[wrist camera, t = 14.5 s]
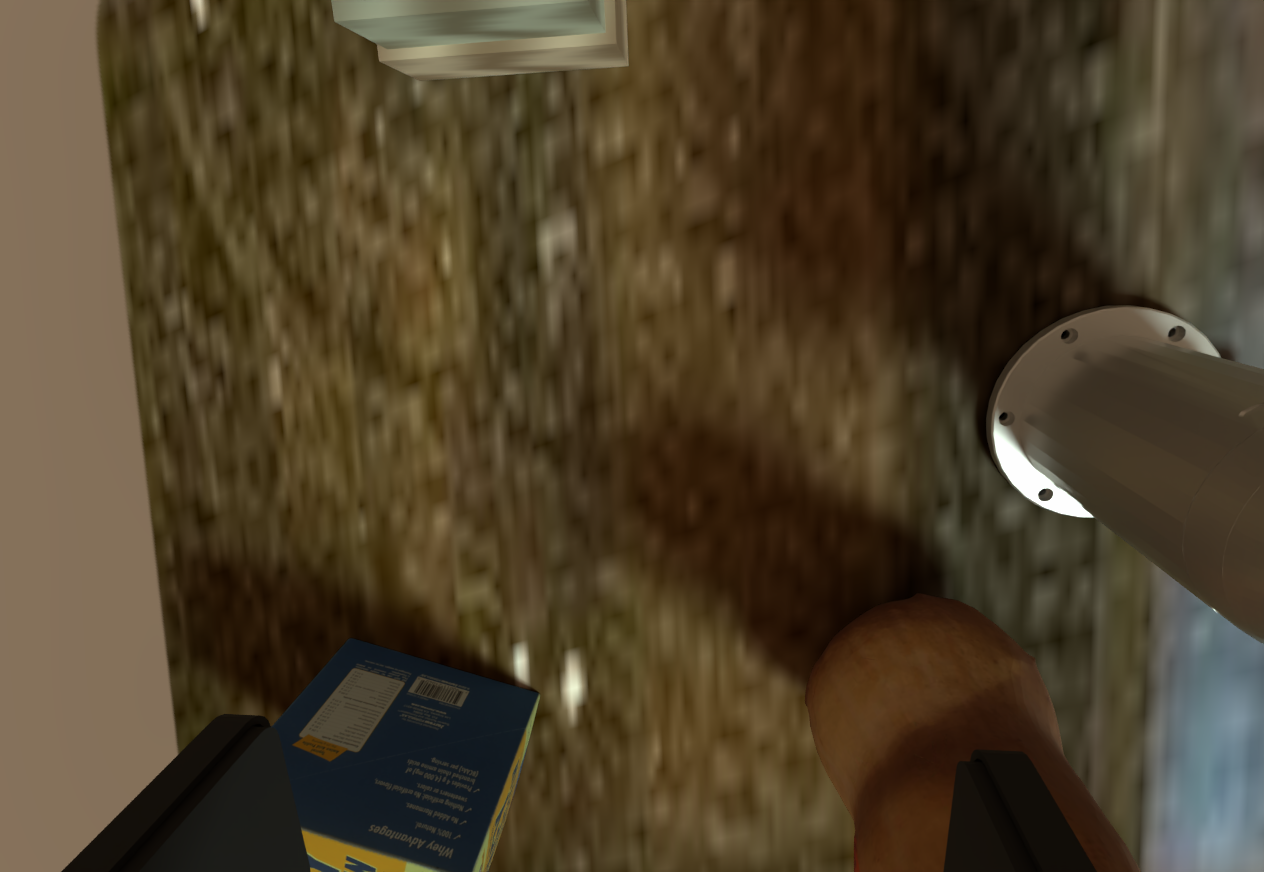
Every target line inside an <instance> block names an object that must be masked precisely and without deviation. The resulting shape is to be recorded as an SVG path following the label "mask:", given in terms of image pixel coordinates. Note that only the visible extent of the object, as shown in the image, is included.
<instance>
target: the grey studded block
mask: <svg viewBox="0 0 1264 872" xmlns="http://www.w3.org/2000/svg"><path fill="white" fill-rule="evenodd" d="M331 1H332V8H333V15H334V21H335V22H336V23H338V24H340V25H342V26H344V27H346V28H348V29H350V30H351V31H353V32H355V33H357V34H359V35H361V36H363V37H365V38H367V39H369V40H370V41H372V42H374V43H376V44H377V48H378V55H379V61H380V62H382V63H384V64H386V65H388V66H390V67H392V68H394V69H396V70H398V71H401V72H403V73H405V74H407V75H409V76H411V77H413V78H415V79H417V80H419V81H424V80H438V79H452V78H467V77H481V76H495V75H509V74H523V73H538V72H552V71H566V70H580V69H594V68H609V67H623V66H629V63H628V37H627V10H626V0H331Z"/></svg>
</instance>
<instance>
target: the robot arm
mask: <svg viewBox="0 0 1264 872" xmlns="http://www.w3.org/2000/svg"><path fill="white" fill-rule="evenodd" d="M1170 329H1171V331H1170ZM1063 331H1066V334H1065V336H1064V337H1062V338H1061V335H1062V333H1063ZM1169 331H1170V333H1169ZM1168 333H1169V334H1168ZM1003 412H1005V415H1004V417H1002V418H999V417H1000V415H1001V414H1002V413H1003ZM986 433H987V441H988V445H989V449H990V453H991V456H992V458H993V460H994V462H995V464H996V466H997V468H998V470H999V472H1000V473H1001V474H1002V475H1003V477H1004V478H1005V479H1006V480H1007V481H1008V482H1009V484H1010V485H1011V486H1012V487H1013V488H1015V489H1016V490H1017V491H1018V492H1019V493H1020V494H1021V495H1023V496H1024V497H1025V498H1027V499H1028V500H1030V501H1031V502H1033V503H1034V504H1036V505H1038V506H1039V507H1042V508H1044V509H1047V510H1050V511H1052V512H1055V513H1058V514H1062V515H1068V516H1073V517H1079V518H1096V519H1097V520H1099V521H1100V522H1101V523H1102V524H1104V525H1105V526H1106V527H1108V528H1109V529H1110V530H1111V531H1113V532H1114V533H1115V534H1117V535H1118V536H1119V537H1120V538H1122V539H1123V540H1124V541H1126V542H1127V543H1128V544H1129V545H1131V546H1132V547H1133V548H1135V549H1136V550H1137V551H1139V552H1140V553H1141V554H1142V555H1144V556H1145V557H1146V558H1148V559H1149V560H1150V561H1151V562H1153V563H1154V564H1155V565H1157V566H1158V567H1159V568H1160V569H1162V570H1163V571H1164V572H1166V573H1167V574H1168V575H1169V576H1171V577H1172V578H1173V579H1175V580H1176V581H1177V582H1178V583H1180V584H1181V585H1182V586H1184V587H1185V588H1186V589H1187V590H1189V591H1190V592H1191V593H1193V594H1194V595H1195V596H1196V597H1198V598H1199V599H1200V600H1202V601H1203V602H1204V603H1206V604H1207V605H1208V606H1209V607H1211V608H1212V609H1213V610H1215V611H1216V612H1218V613H1219V614H1220V615H1222V616H1223V617H1224V618H1226V619H1227V620H1228V621H1230V622H1231V623H1232V624H1234V625H1235V626H1236V627H1237V628H1239V629H1240V630H1242V631H1243V632H1245V633H1246V634H1248V635H1249V636H1251V637H1253V638H1254V639H1256V640H1257V641H1259V642H1261V643H1263V644H1264V369H1260V368H1257V367H1253V366H1249V365H1245V364H1242V363H1238V362H1234V361H1231V360H1227V359H1223V358H1221V356H1220V354H1219V352H1218V351H1217V349H1216V348H1215V347H1214V345H1213V344H1212V343H1211V341H1210V340H1209V339H1208V337H1207V336H1206V335H1204V334H1203V333H1202V332H1201V331H1199V330H1198V329H1197V328H1196V327H1195V326H1193V325H1192V324H1191V323H1189V322H1187V321H1185V320H1183V319H1181V318H1179V317H1177V316H1175V315H1173V314H1170V313H1167V312H1163V311H1159V310H1155V309H1151V308H1146V307H1139V306H1132V305H1115V306H1103V307H1098V308H1093V309H1088V310H1083V311H1081V312H1078V313H1075V314H1073V315H1070V316H1067V317H1065V318H1062V319H1060V320H1058V321H1057V322H1055V323H1053V324H1051V325H1050V326H1048V327H1046V328H1045V329H1043V330H1041V331H1040V332H1039V333H1037V334H1036V335H1035V336H1034V337H1032V338H1031V339H1030V340H1029V341H1028V342H1026V343H1025V344H1024V345H1023V346H1022V347H1021V348H1020V349H1019V350H1018V351H1017V353H1016V354H1015V355H1014V356H1013V357H1012V358H1011V359H1010V360H1009V362H1008V363H1007V365H1006V366H1005V368H1004V370H1003V371H1002V373H1001V374H1000V376H999V378H998V379H997V381H996V384H995V386H994V389H993V392H992V394H991V397H990V399H989V405H988V410H987V416H986ZM1040 490H1042V491H1041V492H1039V491H1040ZM62 872H311V871H310V864H309V860H308V855H307V851H306V847H305V843H304V839H303V834H302V830H301V826H300V822H299V817H298V813H297V809H296V805H295V800H294V796H293V792H292V788H291V784H290V779H289V775H288V771H287V767H286V762H285V758H284V754H283V750H282V745H281V741H280V737H279V734H278V731H277V730H276V729H275V728H273V727H271V726H270V724H269V721H268V720H267V719H266V718H265V717H263V716H255V715H233V714H224V715H221V716H218V717H217V718H215V719H214V720H213V721H212V722H211V723H210V724H209V725H208V726H207V727H206V728H205V729H204V730H203V731H202V732H201V733H200V734H199V735H198V736H197V737H196V738H195V739H194V740H193V741H192V742H191V743H190V744H189V745H188V746H187V747H186V748H185V749H184V750H183V751H182V752H181V753H180V754H179V755H178V756H177V757H176V758H175V759H174V760H173V761H172V762H171V763H170V764H169V765H168V766H167V767H166V768H165V769H164V770H163V771H162V772H161V773H160V774H159V775H158V776H157V777H156V778H155V779H154V780H153V781H152V782H151V783H150V784H149V785H148V786H147V787H146V788H145V789H144V790H143V791H142V792H141V793H140V794H139V795H138V796H137V797H136V798H135V799H134V800H133V801H132V802H131V803H130V804H129V805H128V806H127V807H126V808H125V809H124V810H123V811H122V812H121V813H120V814H119V815H118V816H117V817H116V818H115V819H114V820H113V821H112V822H111V823H110V824H109V825H108V826H107V827H106V828H105V829H104V830H103V831H102V832H101V833H100V834H99V835H98V836H97V837H96V838H95V839H94V840H93V841H92V842H91V843H90V844H89V845H88V846H87V847H86V848H85V849H84V850H83V851H82V852H81V853H80V854H79V855H78V856H77V857H76V858H75V859H74V860H73V861H72V862H71V863H70V864H69V865H68V866H67V867H66V868H65V869H64V870H63V871H62ZM943 872H1097V871H1096V869H1095V868H1094V866H1093V864H1092V863H1091V861H1090V859H1089V857H1088V856H1087V854H1086V852H1085V851H1084V849H1083V847H1082V846H1081V844H1080V842H1079V841H1078V839H1077V837H1076V835H1075V834H1074V832H1073V830H1072V829H1071V827H1070V825H1069V824H1068V822H1067V820H1066V819H1065V817H1064V815H1063V813H1062V812H1061V810H1060V808H1059V807H1058V805H1057V803H1056V802H1055V800H1054V798H1053V797H1052V795H1051V793H1050V791H1049V790H1048V788H1047V786H1046V785H1045V783H1044V781H1043V780H1042V778H1041V776H1040V775H1039V773H1038V771H1037V769H1036V768H1035V766H1034V764H1033V763H1032V761H1031V760H1030V758H1029V757H1028V756H1027V754H1025V753H1024V752H1022V751H1002V750H980V749H977V750H974V751H973V753H972V754H971V758H970V761H959V762H958V764H957V768H956V774H955V782H954V790H953V799H952V807H951V815H950V823H949V831H948V839H947V847H946V855H945V863H944V871H943Z"/></svg>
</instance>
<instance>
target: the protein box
mask: <svg viewBox="0 0 1264 872" xmlns="http://www.w3.org/2000/svg"><path fill="white" fill-rule="evenodd" d="M539 698H540V694H539V693H536V692H533V691H530V690H526V689H523V688H519V687H516V686H513V685H509V684H505V683H502V682H499V681H495V680H492V679H488V678H485V677H481V676H478V675H475V674H472V673H468V672H464V671H461V670H458V669H454V668H451V667H448V666H444V665H441V664H438V663H434V662H431V661H428V660H424V659H421V658H417V657H414V656H411V655H407V654H404V653H401V652H397V651H394V650H390V649H387V648H384V647H380V646H377V645H373V644H370V643H367V642H363V641H360V640H356V639H353V638H350V639H348V640H347V641H346V642H345V644H344V645H343V646H342V647H341V648H340V649H339V650H338V651H337V653H336V654H335V655H334V656H333V657H332V658H331V659H330V661H329V662H328V663H327V664H326V665H325V666H324V668H323V669H322V670H321V671H320V672H319V673H318V674H317V676H316V677H315V678H314V679H313V680H312V681H311V682H310V684H309V685H308V686H307V687H306V688H305V689H304V690H303V691H302V693H301V694H300V695H299V696H298V697H297V698H296V699H295V701H294V702H293V703H292V704H291V705H290V706H289V707H288V709H287V710H286V711H285V712H284V713H283V714H282V715H281V717H280V718H279V719H278V720H277V721H276V722H275V723H274V725H273V726H272V727H273V728H275V729H276V730H277V731H278V734H279V737H280V741H281V745H282V750H283V754H284V758H285V762H286V767H287V771H288V775H289V779H290V784H291V788H292V792H293V796H294V800H295V805H296V809H297V813H298V817H299V822H300V826H301V830H302V834H303V839H304V843H305V847H306V851H307V855H308V860H309V864H310V871H311V872H488V870H489V867H490V865H491V862H492V859H493V856H494V853H495V850H496V847H497V844H498V841H499V839H500V836H501V833H502V830H503V827H504V824H505V821H506V818H507V815H508V812H509V810H510V806H511V803H512V801H513V798H514V794H515V790H516V786H517V783H518V779H519V775H520V772H521V768H522V764H523V761H524V757H525V753H526V749H527V746H528V742H529V738H530V734H531V730H532V726H533V722H534V718H535V714H536V711H537V706H538V702H539Z"/></svg>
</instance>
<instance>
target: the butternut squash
mask: <svg viewBox="0 0 1264 872" xmlns="http://www.w3.org/2000/svg"><path fill="white" fill-rule="evenodd" d="M805 704H806V706H807V707H808V711H809V717H810V727H811V730H812V734H813V738H814V742H815V745H816V749H817V752H818V755H819V757H820V759H821V762H822V764H823V766H824V768H825V770H826V772H827V774H828V776H829V778H830V780H831V781H832V783H833V785H834V786H835V788H836V790H837V792H838V793H839V795H840V797H841V799H842V801H843V803H844V804H845V806H846V808H847V809H848V811H849V813H850V815H851V816H852V818H853V820H854V824H855V836H854V872H943V871H944V863H945V855H946V847H947V839H948V831H949V823H950V815H951V807H952V799H953V790H954V782H955V774H956V768H957V764H958V762H959V761H970V758H971V754H972V753H973V751H974V750H977V749H980V750H1002V751H1022V752H1024V753H1025V754H1027V756H1028V757H1029V758H1030V760H1031V761H1032V763H1033V764H1034V766H1035V768H1036V769H1037V771H1038V773H1039V775H1040V776H1041V778H1042V780H1043V781H1044V783H1045V785H1046V786H1047V788H1048V790H1049V791H1050V793H1051V795H1052V797H1053V798H1054V800H1055V802H1056V803H1057V805H1058V807H1059V808H1060V810H1061V812H1062V813H1063V815H1064V817H1065V819H1066V820H1067V822H1068V824H1069V825H1070V827H1071V829H1072V830H1073V832H1074V834H1075V835H1076V837H1077V839H1078V841H1079V842H1080V844H1081V846H1082V847H1083V849H1084V851H1085V852H1086V854H1087V856H1088V857H1089V859H1090V861H1091V863H1092V864H1093V866H1094V868H1095V869H1096V871H1097V872H1141V871H1140V869H1139V867H1138V865H1137V864H1136V862H1135V860H1134V858H1133V856H1132V855H1131V853H1130V851H1129V849H1128V848H1127V846H1126V844H1125V843H1124V841H1123V840H1122V839H1121V837H1120V836H1119V835H1118V833H1117V832H1116V831H1115V829H1114V828H1113V826H1112V825H1111V824H1110V822H1109V821H1108V819H1107V818H1106V816H1105V815H1104V813H1103V812H1102V810H1101V809H1100V807H1099V806H1098V804H1097V803H1096V801H1095V800H1094V798H1093V797H1092V795H1091V794H1090V792H1089V791H1088V789H1087V788H1086V786H1085V785H1084V784H1083V782H1082V781H1081V779H1080V778H1079V777H1078V775H1077V774H1076V773H1075V771H1074V770H1073V769H1072V767H1071V766H1070V764H1069V762H1068V761H1067V759H1066V757H1065V756H1064V753H1063V748H1062V743H1061V737H1060V732H1059V727H1058V722H1057V718H1056V714H1055V710H1054V706H1053V704H1052V701H1051V699H1050V696H1049V693H1048V691H1047V689H1046V686H1045V684H1044V682H1043V679H1042V677H1041V675H1040V673H1039V671H1038V669H1037V666H1036V662H1035V658H1034V657H1032V656H1030V655H1029V654H1027V653H1026V652H1025V651H1024V650H1023V649H1022V648H1021V647H1020V646H1019V645H1018V644H1017V643H1016V642H1015V641H1014V640H1013V639H1012V638H1011V637H1010V636H1008V635H1007V634H1006V633H1005V632H1004V631H1003V630H1002V629H1000V628H999V627H998V626H997V625H996V624H994V623H993V622H992V621H990V620H989V619H988V618H987V617H985V616H984V615H983V614H981V613H980V612H979V611H977V610H976V609H975V608H973V607H971V606H969V605H966V604H964V603H962V602H960V601H957V600H953V599H946V598H940V597H935V596H931V595H926V594H920V593H916V595H914V596H913V597H911V598H908V599H904V600H899V601H893V602H887V603H883V604H879V605H877V606H876V607H874V608H872V609H870V610H868V611H867V612H865V613H863V614H862V615H860V616H859V617H857V618H856V619H855V620H853V621H852V622H850V623H849V624H848V625H847V626H845V627H844V628H843V629H842V630H840V631H839V632H838V633H837V634H836V635H835V636H834V637H833V638H832V640H831V641H830V642H829V644H828V645H827V647H826V648H825V650H824V652H823V653H822V655H821V656H820V658H819V659H818V660H817V662H816V663H815V664H814V666H813V668H812V671H811V674H810V677H809V680H808V683H807V687H806V694H805Z"/></svg>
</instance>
